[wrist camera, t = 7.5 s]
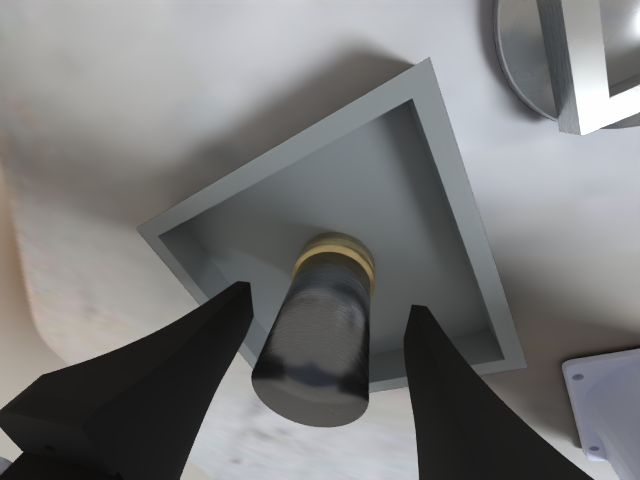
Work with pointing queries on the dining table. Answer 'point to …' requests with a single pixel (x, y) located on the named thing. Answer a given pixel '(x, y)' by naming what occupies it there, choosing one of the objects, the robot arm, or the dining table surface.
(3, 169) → the dining table surface
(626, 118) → the stud socket
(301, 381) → the grey metal rounded cylinder
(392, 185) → the bin tray
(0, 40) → the dining table surface
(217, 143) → the dining table surface
